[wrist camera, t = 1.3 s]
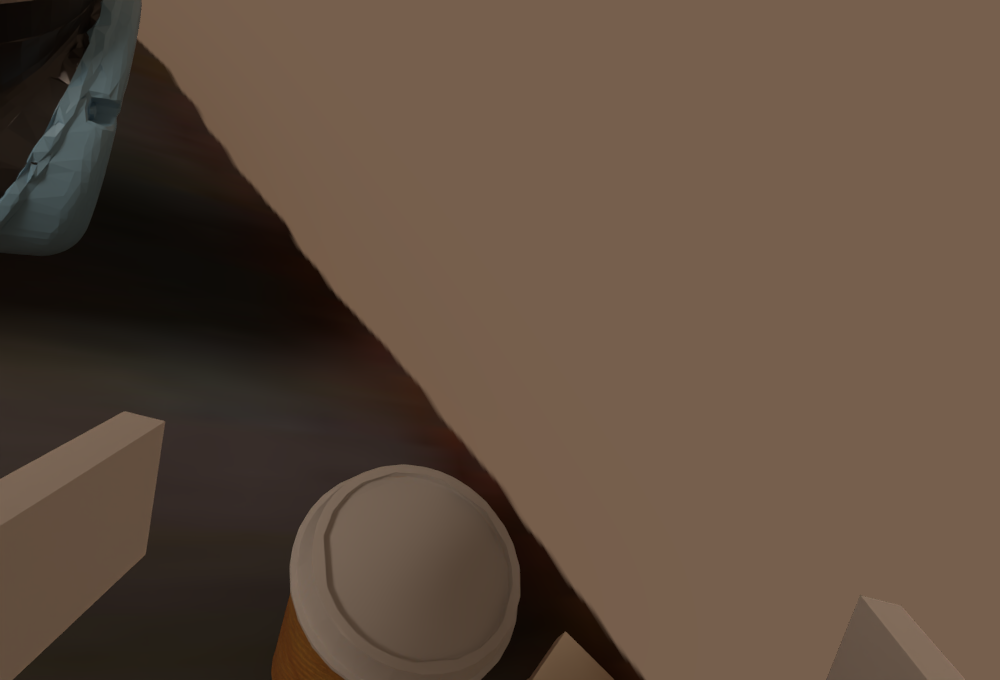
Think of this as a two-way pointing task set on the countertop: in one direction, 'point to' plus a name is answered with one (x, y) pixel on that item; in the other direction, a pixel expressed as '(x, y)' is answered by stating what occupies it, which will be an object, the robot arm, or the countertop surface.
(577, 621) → the countertop surface
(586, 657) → the lid
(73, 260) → the countertop surface
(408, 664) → the disposable coffee cup
